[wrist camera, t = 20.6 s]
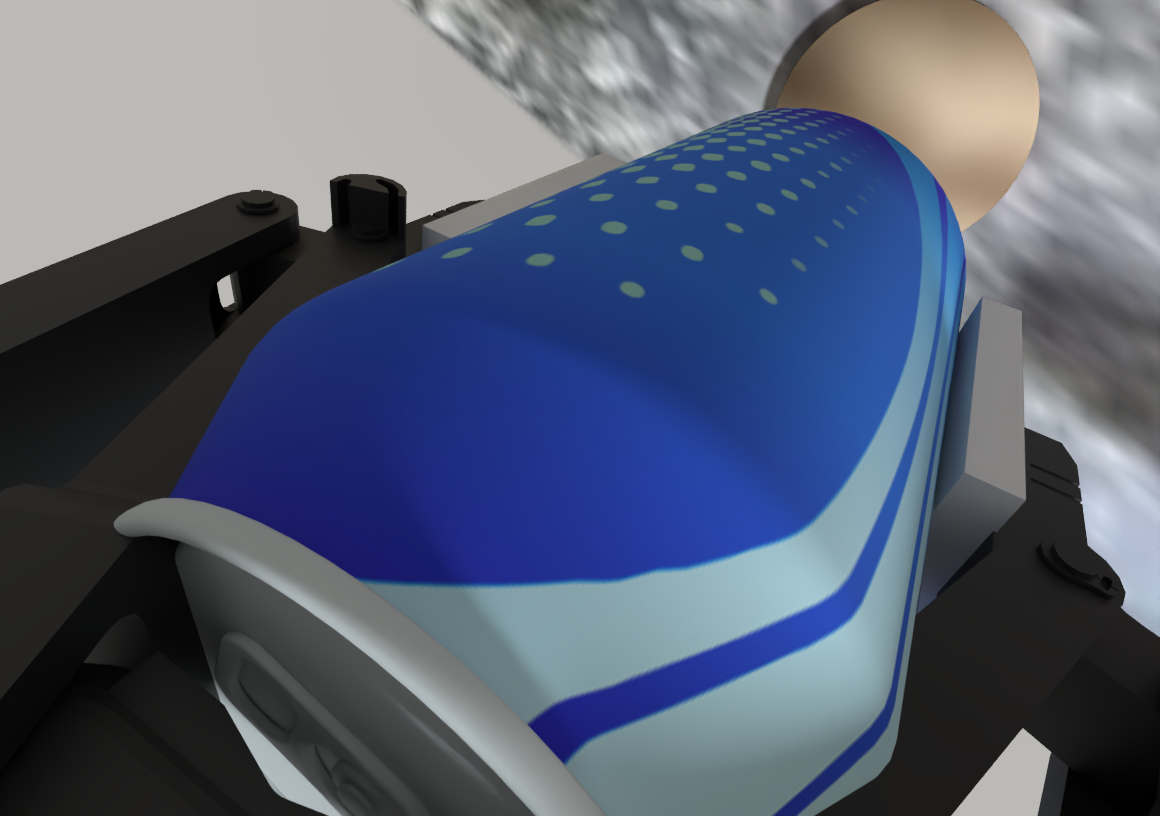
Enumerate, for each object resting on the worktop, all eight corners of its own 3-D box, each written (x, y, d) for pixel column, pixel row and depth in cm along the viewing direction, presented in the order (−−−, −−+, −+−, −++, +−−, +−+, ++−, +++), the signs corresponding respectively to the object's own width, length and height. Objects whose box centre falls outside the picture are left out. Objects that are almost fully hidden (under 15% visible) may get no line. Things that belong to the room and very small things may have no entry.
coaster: (830, -37, 28) (826, -37, 27) (1103, 31, 25) (1105, 32, 24) (744, 205, 35) (739, 209, 34) (950, 282, 32) (949, 287, 31)
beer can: (954, 48, 14) (615, 348, 2) (979, 400, 17) (911, 1356, 5) (616, 151, 18) (-81, 419, 7) (684, 410, 21) (291, 907, 10)
